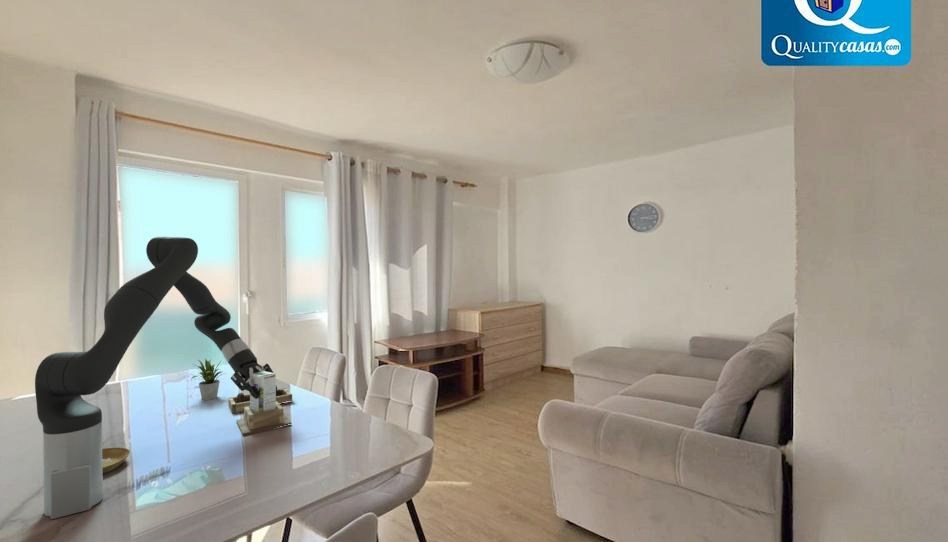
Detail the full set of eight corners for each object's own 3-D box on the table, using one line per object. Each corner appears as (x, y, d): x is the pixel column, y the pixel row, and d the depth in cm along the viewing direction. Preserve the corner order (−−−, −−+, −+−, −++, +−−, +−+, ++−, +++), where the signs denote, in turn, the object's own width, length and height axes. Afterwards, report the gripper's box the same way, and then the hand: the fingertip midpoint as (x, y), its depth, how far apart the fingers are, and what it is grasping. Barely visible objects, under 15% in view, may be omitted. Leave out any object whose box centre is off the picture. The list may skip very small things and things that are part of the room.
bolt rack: (292, 402, 159) (292, 394, 159) (232, 413, 147) (232, 405, 147) (285, 395, 168) (285, 388, 168) (228, 405, 156) (228, 397, 156)
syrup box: (249, 418, 136) (248, 374, 136) (265, 412, 141) (265, 370, 141) (260, 421, 133) (260, 376, 133) (276, 415, 139) (276, 372, 138)
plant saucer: (133, 469, 107) (133, 459, 107) (51, 491, 97) (51, 480, 97) (127, 451, 118) (127, 442, 117) (53, 469, 107) (53, 459, 107)
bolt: (280, 383, 163) (237, 390, 153) (284, 392, 160) (240, 400, 150) (278, 394, 166) (236, 402, 156) (282, 403, 162) (238, 412, 152)
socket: (291, 425, 136) (291, 409, 136) (242, 436, 127) (242, 418, 127) (281, 413, 147) (281, 398, 147) (236, 422, 139) (236, 406, 139)
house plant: (175, 401, 161) (174, 359, 161) (207, 391, 174) (207, 352, 174) (203, 405, 157) (203, 361, 157) (234, 394, 170) (234, 354, 170)
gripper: (226, 352, 133) (255, 393, 129) (262, 344, 146) (289, 381, 143) (213, 367, 134) (242, 408, 131) (250, 358, 148) (277, 395, 144)
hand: (267, 393), depth 137 cm, fingers closed on syrup box, 6 cm apart
